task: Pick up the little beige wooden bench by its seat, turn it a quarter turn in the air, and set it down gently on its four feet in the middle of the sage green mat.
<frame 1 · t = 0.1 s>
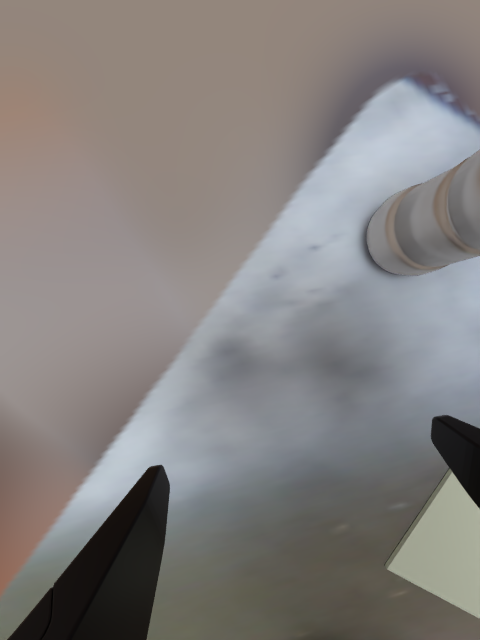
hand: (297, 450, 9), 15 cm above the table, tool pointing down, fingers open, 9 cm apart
plastic bottle: (392, 240, 23), on the table
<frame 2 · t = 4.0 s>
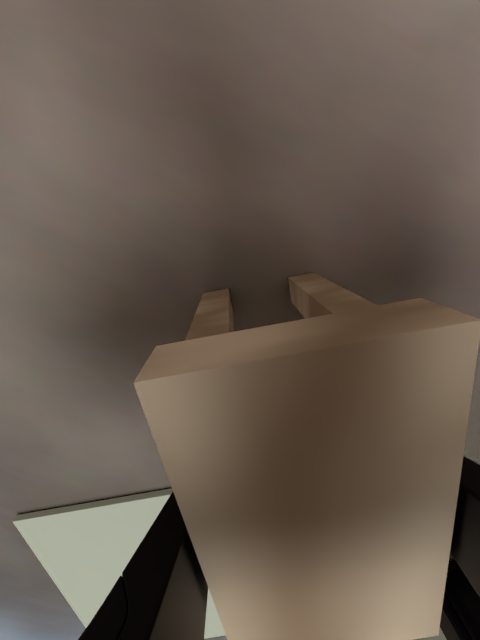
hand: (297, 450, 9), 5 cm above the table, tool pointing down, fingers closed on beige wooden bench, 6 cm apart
beige wooden bench: (271, 368, 14), on the table, touching gripper
mat: (176, 572, 19), on the table
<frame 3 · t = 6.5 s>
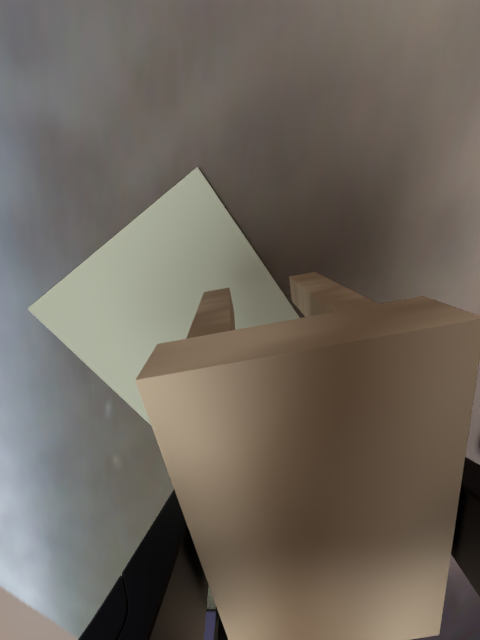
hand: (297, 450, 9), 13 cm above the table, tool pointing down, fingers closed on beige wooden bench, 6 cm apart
beige wooden bench: (272, 368, 14), point 8 cm above the table, touching gripper
cereal box: (235, 618, 35), on the table
mat: (182, 327, 21), on the table
when the fingers open (7 cm above the table, at t = 9.3 s): beige wooden bench drops 1 cm, resting on mat.
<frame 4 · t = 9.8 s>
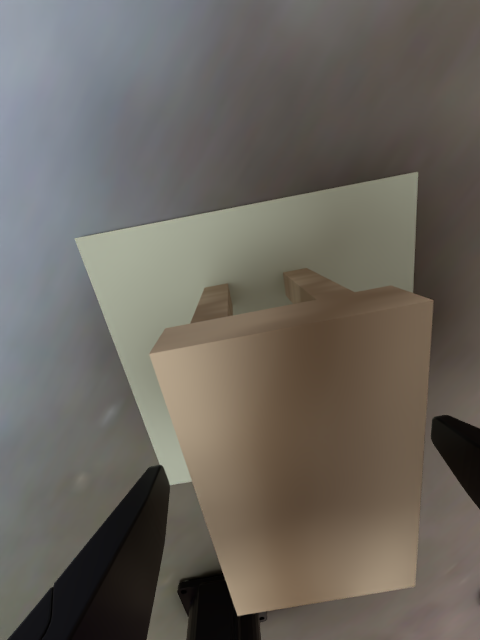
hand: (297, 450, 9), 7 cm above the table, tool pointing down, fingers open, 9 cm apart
beige wooden bench: (268, 358, 15), resting on mat
mat: (267, 355, 15), on the table
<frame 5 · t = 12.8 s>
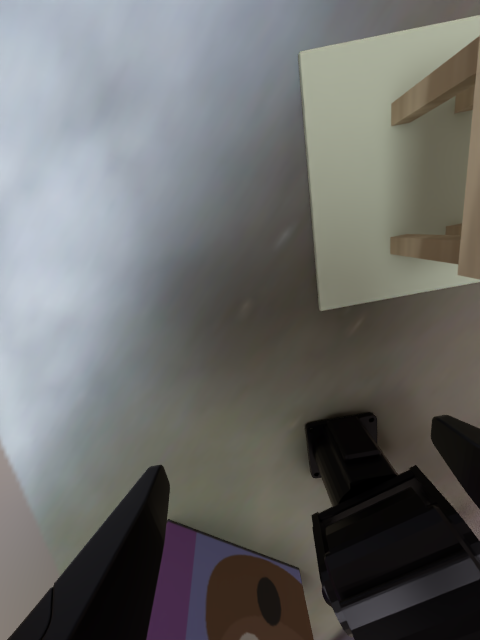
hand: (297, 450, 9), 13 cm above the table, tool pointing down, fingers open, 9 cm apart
beige wooden bench: (429, 177, 18), resting on mat
cereal box: (226, 555, 31), on the table
mat: (424, 179, 18), on the table
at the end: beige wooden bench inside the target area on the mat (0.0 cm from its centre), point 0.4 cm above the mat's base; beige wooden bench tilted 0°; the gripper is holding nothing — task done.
